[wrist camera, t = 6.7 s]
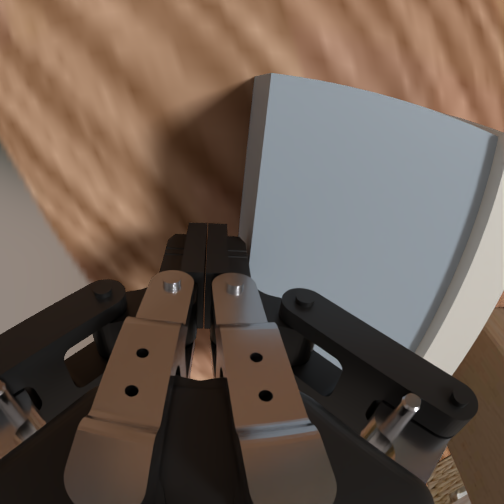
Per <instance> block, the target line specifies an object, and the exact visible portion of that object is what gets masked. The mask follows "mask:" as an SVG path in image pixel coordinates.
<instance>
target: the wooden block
mask: <svg viewBox="0 0 504 504" xmlns="http://www.w3.org/2000/svg"><path fill="white" fill-rule="evenodd" d="M452 376H453V377H454V378H456V379H458V380H459V381H461V382H462V383H464V384H466V385H467V386H468V387H469V388H471V389H472V391H473V392H474V393H475V395H476V397H477V400H478V411H477V413H476V415H475V416H474V417H473V418H472V419H471V420H470V421H469V422H468V423H467V424H466V425H465V426H464V427H463V428H462V429H461V430H460V431H459V432H458V433H457V434H456V435H455V436H454V437H453V438H452V439H451V440H450V441H449V442H448V445H447V446H448V448H449V451H450V453H451V455H452V458H453V460H454V462H455V465H456V467H457V469H458V472H459V474H460V476H461V479H462V481H463V484H464V486H465V489H466V491H467V494H468V497H469V499H470V502H471V504H504V308H494V309H493V311H492V313H491V315H490V317H489V318H488V320H487V322H486V324H485V325H484V327H483V329H482V330H481V332H480V334H479V335H478V337H477V339H476V340H475V342H474V343H473V345H472V347H471V348H470V350H469V351H468V353H467V354H466V356H465V357H464V359H463V360H462V362H461V363H460V365H459V366H458V368H457V369H456V370H455V372H454V373H453V375H452Z"/></svg>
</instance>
